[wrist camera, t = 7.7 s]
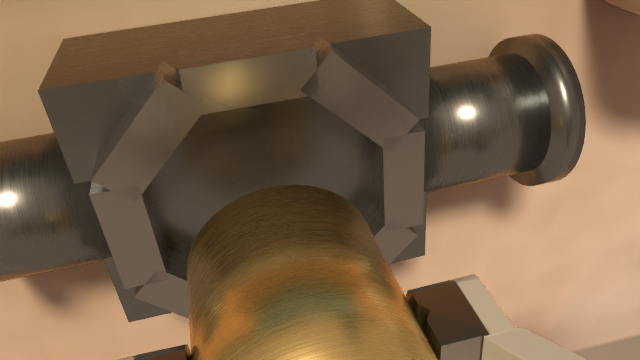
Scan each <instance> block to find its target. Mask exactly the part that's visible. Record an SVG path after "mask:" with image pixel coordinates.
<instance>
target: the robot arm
mask: <svg viewBox="0 0 640 360" xmlns="http://www.w3.org/2000/svg"><path fill="white" fill-rule="evenodd" d="M406 299H407V301H408V303H409V305H410V307H411V309H412V311H413V313H414V315H415V317H416V319H417V321H418V322H419V324H420V326H421V328H422V330H423V332H424V334H425V336H426V338H427V340H428V342H429V344H430V346H431V347H432V349H433V351H434V353H435V355H436V357H437V359H438V360H586V359H584V358H582V357H580V356H578V355H576V354H574V353H572V352H571V351H569V350H567V349H565V348H563V347H561V346H559V345H557V344H555V343H553V342H551V341H549V340H547V339H545V338H543V337H541V336H539V335H537V334H535V333H533V332H531V331H529V330H527V329H525V328H523V327H519V328H515V327H514V326H513V325H512V323H511V322H510V320H509V319H508V318H507V316H506V315H505V314H504V312H503V311H502V309H501V308H500V307H499V305H498V304H497V302H496V301H495V300H494V298H493V297H492V295H491V294H490V293H489V291H488V290H487V289H486V287H485V286H484V284H483V283H482V282H481V280H480V279H479V277H477V276H476V275H474V274H473V275H469V276H465V277H461V278H457V279H453V280H448V281H444V282H440V283H436V284H432V285H428V286H424V287H420V288H416V289H412V290H408V292H407V295H406ZM118 360H191V353H190V350H189V347H188V345H181V346H177V347H172V348H167V349H163V350H158V351H153V352H149V353H144V354H139V355H136V356H132V357H127V358H123V359H118Z"/></svg>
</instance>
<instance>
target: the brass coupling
mask: <svg viewBox="0 0 640 360" xmlns="http://www.w3.org/2000/svg"><path fill="white" fill-rule="evenodd" d="M187 284H188V303H189V323H190V342H191V360H438V359H437V357H436V355H435V353H434V351H433V349H432V347H431V346H430V344H429V342H428V340H427V338H426V336H425V334H424V332H423V330H422V328H421V326H420V324H419V322H418V321H417V319H416V317H415V315H414V313H413V311H412V309H411V307H410V305H409V303H408V301H407V299H406V297H405V296H404V294H403V292H402V290H401V288H400V286H399V284H398V282H397V280H396V278H395V276H394V274H393V272H392V270H391V269H390V267H389V265H388V263H387V261H386V259H385V257H384V255H383V253H382V251H381V249H380V247H379V245H378V244H377V242H376V240H375V238H374V236H373V234H372V232H371V230H370V228H369V226H368V224H367V222H366V220H365V219H364V217H363V216H362V214H361V213H360V212H359V210H358V209H357V208H356V207H355V206H354V205H353V204H352V203H350V202H349V201H348V200H346V199H345V198H343V197H342V196H340V195H338V194H336V193H334V192H331V191H329V190H326V189H323V188H319V187H314V186H309V185H280V186H273V187H268V188H264V189H260V190H257V191H254V192H251V193H249V194H246V195H244V196H242V197H240V198H238V199H236V200H234V201H232V202H231V203H229V204H228V205H226V206H225V207H223V208H222V209H220V210H219V211H218V212H217V213H216V214H215V215H213V216H212V217H211V218H210V219H209V220H208V222H207V223H206V224H205V225H204V226H203V227H202V229H201V230H200V232H199V233H198V235H197V236H196V238H195V240H194V242H193V244H192V246H191V249H190V252H189V256H188V262H187Z"/></svg>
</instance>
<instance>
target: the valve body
mask: <svg viewBox="0 0 640 360" xmlns="http://www.w3.org/2000/svg"><path fill="white" fill-rule="evenodd" d="M430 45H431V27H430V26H429V25H428V24H426V23H425V22H424V21H422V20H421V19H420V18H418V17H417V16H415V15H414V14H413V13H411V12H410V11H409V10H407V9H406V8H405V7H403V6H402V5H401V4H399V3H398V2H397V1H395V0H320V1H313V2H306V3H300V4H293V5H287V6H280V7H273V8H267V9H260V10H253V11H247V12H240V13H233V14H227V15H220V16H213V17H207V18H200V19H193V20H187V21H180V22H173V23H167V24H160V25H154V26H147V27H140V28H134V29H127V30H120V31H114V32H107V33H100V34H94V35H87V36H80V37H74V38H67V39H63V41H62V43H61V45H60V47H59V49H58V51H57V53H56V55H55V57H54V59H53V61H52V63H51V65H50V67H49V69H48V71H47V73H46V75H45V78H44V80H43V82H42V84H41V86H40V88H39V90H38V92H39V95H40V98H41V100H42V103H43V105H44V108H45V110H46V113H47V115H48V118H49V120H50V123H51V126H52V128H53V131H54V133H50V134H44V135H38V136H32V137H27V138H21V139H15V140H9V141H4V142H0V282H1V281H6V280H11V279H16V278H20V277H25V276H30V275H35V274H40V273H44V272H49V271H54V270H59V269H64V268H68V267H73V266H78V265H83V264H88V263H92V262H97V261H102V260H105V263H106V266H107V268H108V271H109V273H110V276H111V278H112V281H113V283H114V286H115V288H116V291H117V294H118V296H119V299H120V301H121V304H122V306H123V309H124V311H125V314H126V316H127V319H128V322H132V321H136V320H141V319H145V318H150V317H154V316H158V315H163V314H167V313H172V312H173V313H176V314H179V315H181V316H184V317H186V318H189V303H188V284H187V262H188V256H189V252H190V249H191V246H192V244H193V242H194V240H195V238H196V236H197V235H198V233H199V232H200V230H201V229H202V227H203V226H204V225H205V224H206V223H207V222H208V220H209V219H210V218H211V217H212V216H213V215H215V214H216V213H217V212H218V211H219V210H220V209H222V208H223V207H225V206H226V205H228V204H229V203H231V202H232V201H234V200H236V199H238V198H240V197H242V196H244V195H246V194H249V193H251V192H254V191H257V190H260V189H264V188H268V187H273V186H280V185H309V186H314V187H319V188H323V189H326V190H329V191H331V192H334V193H336V194H338V195H340V196H342V197H343V198H345V199H346V200H348V201H349V202H350V203H352V204H353V205H354V206H355V207H356V208H357V209H358V210H359V212H360V213H361V214H362V216H363V217H364V219H365V220H366V222H367V224H368V226H369V228H370V230H371V232H372V234H373V236H374V238H375V240H376V242H377V244H378V245H379V247H380V249H381V251H382V253H383V255H384V257H385V259H386V261H387V263H388V265H389V264H390V263H393V262H397V261H402V260H406V259H411V258H415V257H419V256H424V255H425V231H426V194H427V193H428V192H433V191H437V190H442V189H447V188H452V187H457V186H461V185H466V184H471V183H476V182H481V181H485V180H490V179H495V178H500V177H504V176H510V177H511V178H512V179H513V180H515V181H516V182H518V183H520V184H522V185H526V186H535V185H539V184H544V183H549V182H553V181H557V180H561V179H562V178H564V177H566V176H567V175H568V174H569V173H570V172H571V171H572V170H573V168H574V167H575V165H576V163H577V161H578V159H579V157H580V154H581V151H582V147H583V144H584V137H585V125H586V120H585V106H584V99H583V94H582V89H581V86H580V83H579V79H578V77H577V74H576V72H575V69H574V67H573V65H572V63H571V61H570V60H569V58H568V57H567V55H566V53H565V52H564V51H563V50H562V49H561V47H560V46H559V45H558V44H556V43H555V42H554V41H553V40H551V39H550V38H548V37H546V36H543V35H539V34H530V35H524V36H518V37H512V38H508V39H504V40H503V41H501V42H499V43H498V44H497V45H496V46H495V47H494V49H493V50H492V52H491V53H490V55H489V57H487V58H481V59H476V60H470V61H464V62H458V63H453V64H447V65H441V66H435V67H430Z"/></svg>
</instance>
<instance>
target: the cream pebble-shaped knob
mask: <svg viewBox="0 0 640 360" xmlns="http://www.w3.org/2000/svg"><path fill="white" fill-rule="evenodd" d="M604 1H605V2H607V3H609V4H612V5H614V6H617V7H619V8H622V9H624V10H627V11H629V12H632V13H635V14H637V15H640V0H604Z"/></svg>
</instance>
